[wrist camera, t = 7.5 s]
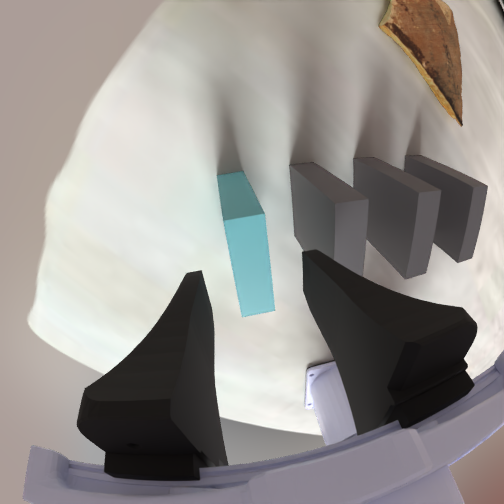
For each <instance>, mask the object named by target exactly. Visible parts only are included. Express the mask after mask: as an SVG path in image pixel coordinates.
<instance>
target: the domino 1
mask: <svg viewBox="0 0 504 504" xmlns="http://www.w3.org/2000/svg"><path fill="white" fill-rule="evenodd" d="M217 180H218V187H219V194H220V201H221V208H222V215H223V222H224V227H225V233H226V238H227V243H228V249H229V254H230V259H231V264H232V269H233V274H234V280H235V285H236V290H237V295H238V300H239V305H240V310H241V315H242V317H246V316H251V315H256V314H261V313H266V312H271V311H275V305H274V295H273V285H272V275H271V266H270V256H269V247H268V238H267V229H266V220H265V213H264V211H263V209H262V207H261V205H260V203H259V201H258V199H257V197H256V195H255V193H254V191H253V189H252V187H251V186H250V184H249V182H248V180H247V178H246V176H245V174H244V172H243V171H240V172H234V173H228V174H222V175H217Z"/></svg>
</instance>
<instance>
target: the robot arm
mask: <svg viewBox="0 0 504 504" xmlns="http://www.w3.org/2000/svg"><path fill="white" fill-rule="evenodd" d="M302 261H303V292H304V295H305V297H306V300H307V303H308V306H309V309H310V311H311V313H312V315H313V317H314V319H315V321H316V323H317V325H318V327H319V329H320V331H321V333H322V335H323V337H324V339H325V341H326V343H327V345H328V346H329V348H330V350H331V353H332V355H333V357H334V360H335V361H333V362H329V363H326V364H322V365H318V366H314V367H311V368H309V369H308V370H307V375H306V397H305V408H306V409H312V408H314V411H315V414H316V417H317V420H318V423H319V426H320V429H321V432H322V435H323V438H324V441H325V443H326V445H327V446H324V447H321V448H317V449H314V450H310V451H306V452H302V453H298V454H294V455H289V456H285V457H280V458H275V459H269V460H264V461H258V462H252V463H246V464H238V465H230V466H229V465H228V461H227V456H226V451H225V446H224V441H223V436H222V429H221V424H220V417H219V410H218V404H217V396H216V388H215V376H214V321H213V313H212V307H211V303H210V300H209V296H208V292H207V289H206V285H205V281H204V278H203V274H202V270H201V271H195V272H190V273H187V274H186V275H185V277H184V278H183V280H182V282H181V284H180V286H179V288H178V289H177V291H176V293H175V295H174V297H173V298H172V300H171V302H170V303H169V305H168V307H167V308H166V310H165V311H164V313H163V314H162V316H161V317H160V319H159V320H158V322H157V323H156V324H155V326H154V327H153V328H152V330H151V331H150V332H149V333H148V334H147V336H146V337H145V338H144V339H143V340H142V341H141V342H140V343H139V344H138V345H137V346H136V348H135V349H134V350H133V351H132V352H131V353H130V354H129V355H128V356H127V357H126V358H124V359H123V360H122V361H121V362H120V363H119V364H118V365H116V366H115V367H114V368H113V369H112V370H110V371H109V372H108V373H106V374H105V375H104V376H102V377H101V378H100V379H98V380H97V381H95V382H94V383H92V384H91V385H90V386H88V387H87V388H85V390H84V393H83V397H82V400H81V405H80V409H79V415H78V419H77V427H78V429H79V431H80V432H81V433H82V434H83V435H84V436H85V437H86V438H87V439H89V440H90V441H91V442H92V443H94V444H95V445H96V446H98V447H99V448H101V449H102V450H104V451H105V452H106V453H105V463H104V465H96V464H90V463H84V462H78V461H72V460H69V459H68V458H67V457H65V456H64V455H62V454H61V453H59V452H57V451H54V450H51V449H47V448H42V447H38V446H34V445H32V446H31V450H30V455H29V460H28V465H27V471H26V477H25V484H24V492H23V499H24V500H25V501H27V502H29V503H31V504H465V503H464V501H463V498H462V496H461V493H460V491H459V489H458V487H457V484H456V482H455V480H454V478H453V476H452V473H451V471H450V469H449V466H450V465H452V464H453V463H455V462H456V461H458V460H459V459H461V458H462V457H463V456H465V455H466V454H468V453H469V452H470V451H472V450H473V449H474V448H476V447H477V446H478V445H480V444H481V443H482V442H484V441H485V440H486V439H487V438H489V437H490V436H491V435H492V434H494V433H495V432H496V431H497V430H498V429H499V428H500V427H502V426H503V425H504V351H503V352H502V353H501V354H500V355H499V357H498V358H497V360H496V361H495V363H494V365H493V366H491V367H490V368H489V369H487V370H486V371H484V372H483V373H481V374H480V375H478V376H477V377H475V378H474V379H471V378H470V376H469V375H468V374H467V372H466V371H465V370H466V369H467V368H468V364H467V363H466V362H465V360H464V357H465V356H466V354H467V352H468V350H469V349H470V347H471V345H472V343H473V341H474V339H475V337H476V334H477V323H476V322H475V321H474V320H473V319H472V318H471V316H470V315H469V314H468V313H467V312H466V311H465V310H464V309H463V308H462V307H455V306H448V305H442V304H436V303H432V302H427V301H423V300H419V299H416V298H412V297H409V296H406V295H403V294H400V293H397V292H395V291H392V290H390V289H387V288H385V287H383V286H380V285H378V284H376V283H374V282H372V281H370V280H368V279H366V278H364V277H362V276H360V275H358V274H356V273H355V272H353V271H351V270H350V269H348V268H346V267H345V266H343V265H341V264H340V263H338V262H336V261H335V260H333V259H332V258H330V257H329V256H327V255H325V254H324V253H322V252H321V251H319V250H317V249H314V250H309V251H304V252H302Z"/></svg>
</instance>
